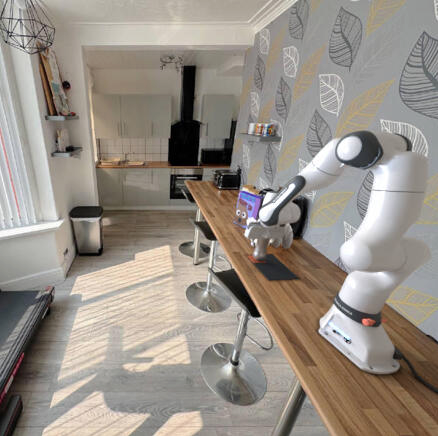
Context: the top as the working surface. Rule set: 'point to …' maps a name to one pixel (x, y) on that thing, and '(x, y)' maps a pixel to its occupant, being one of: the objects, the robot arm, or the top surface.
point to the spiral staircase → (285, 240)
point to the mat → (273, 268)
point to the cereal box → (247, 208)
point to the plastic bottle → (261, 247)
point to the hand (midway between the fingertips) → (261, 245)
